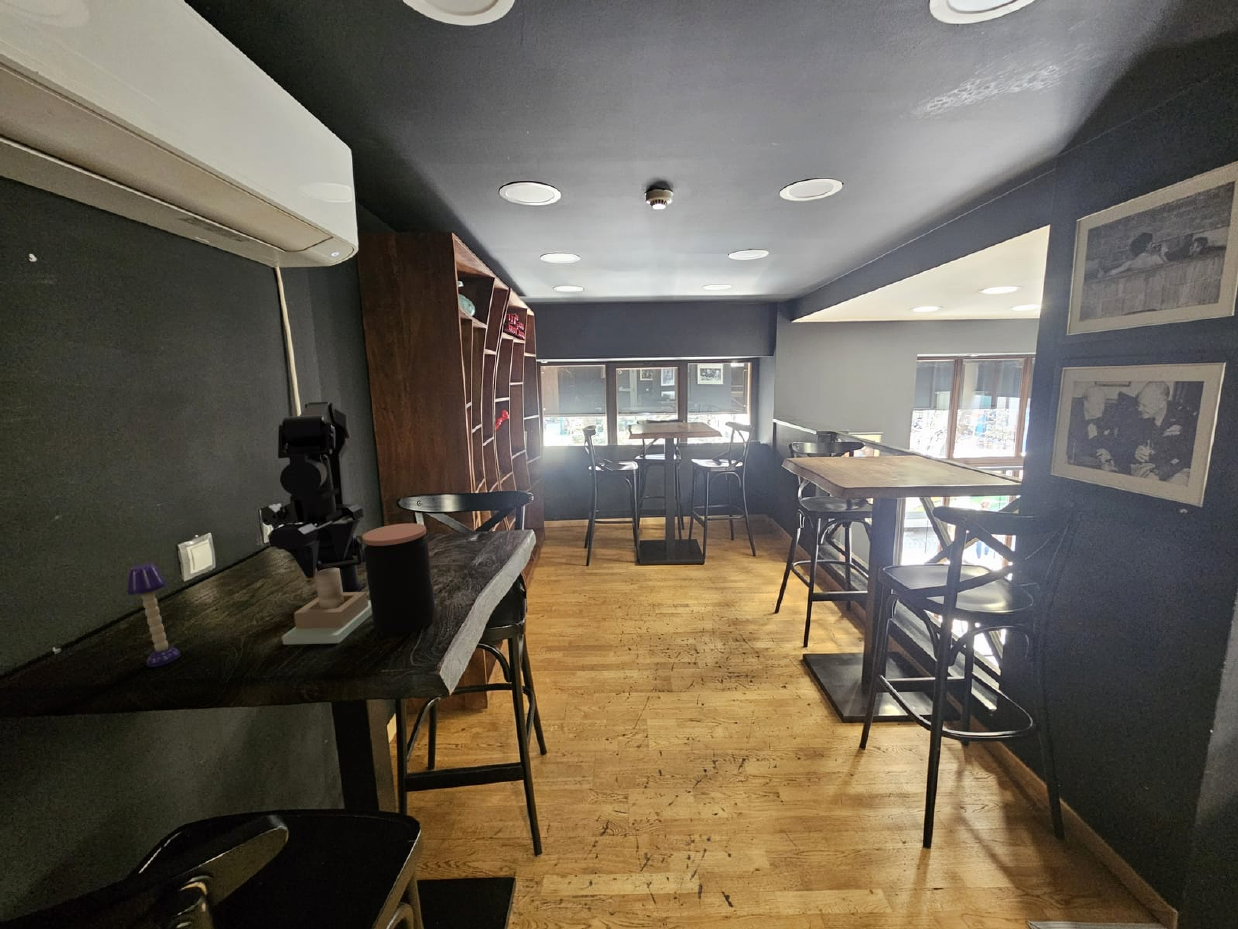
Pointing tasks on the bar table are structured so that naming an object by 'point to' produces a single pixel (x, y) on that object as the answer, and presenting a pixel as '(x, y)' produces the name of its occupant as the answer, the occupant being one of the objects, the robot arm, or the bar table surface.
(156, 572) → the toy lamp
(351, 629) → the socket board
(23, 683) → the bar table surface
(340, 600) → the birch peg
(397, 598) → the coffee jar
